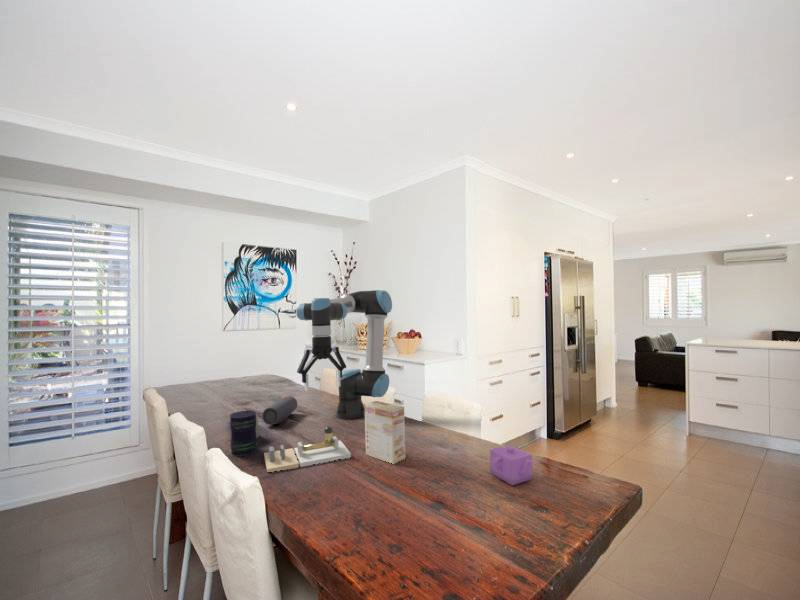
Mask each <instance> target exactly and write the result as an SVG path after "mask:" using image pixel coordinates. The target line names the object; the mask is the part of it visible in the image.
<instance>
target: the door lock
mask: <svg viewBox="0 0 800 600" xmlns="http://www.w3.org/2000/svg"><path fill="white" fill-rule="evenodd" d="M333 441H335V446H332V447H326V448H321V449H315V450H309V451H303V446H304V445H303V444H302V441H298V442H297V447H294V448H293V447H292V448H287V449H286V448H285V445H284V444H280V445H279V450H275V448H274V446H268V452H264V453H263V456H264V457H263V458H264V463H265V467H266V473H267V472H272V473H275V472H274V471H277V472H281V471H280V470H283V471H287V469H288V470H293V469H298V467H299V468H303V467H304V468H305V467H307V466H314V465H313V464H315V465H320V464H323V463H324V462H325V463H329V461H330V462H335V461H334V460H336V461H339V460H338V459H341V460H346V459H350V457H351V458H352V453H351V452H350V450H349V449H348V448H347V447H346V445H345V444H344V442H343V441H341V439H338V438H337V436H336V435H334V436H333ZM295 454H296V455H295ZM345 458H346V459H345ZM297 459H298V460H297ZM319 463H320V464H319Z"/></svg>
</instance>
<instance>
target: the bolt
mask: <svg viewBox="0 0 800 600" xmlns="http://www.w3.org/2000/svg"><path fill="white" fill-rule="evenodd" d="M333 432H334V430H333V428H332V427H331V426H327V427H325V428H324V442H319V443H318V442H317V443H313V444H306V445H303V451H309V450H315V449H321V448H326V447H332V446H335V441H333Z"/></svg>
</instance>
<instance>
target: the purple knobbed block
mask: <svg viewBox="0 0 800 600" xmlns="http://www.w3.org/2000/svg"><path fill="white" fill-rule="evenodd" d="M489 453H490V454H489V457H490V474H491V475H493V476H495V477H497V479H500V480H501V481H504V482H505V483H507V484H508V485H510V486H515V485H519V484H522V483H525V482H527V481H528V482H529V481H531V480H533V463H534V461H533V456H532V454H530V453H528V452H527V451H524V450H523V449H519V448H517V447H515V446H513V445H510V444H508V445H505V446H501V447H493V449H490V450H489Z"/></svg>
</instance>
